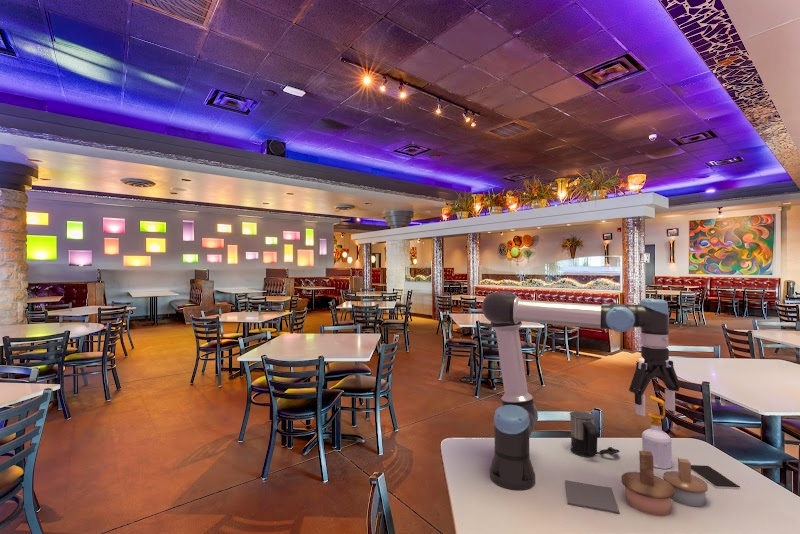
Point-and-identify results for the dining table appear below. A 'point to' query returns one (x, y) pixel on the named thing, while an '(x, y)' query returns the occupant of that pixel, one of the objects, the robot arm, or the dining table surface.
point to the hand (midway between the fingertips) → (655, 412)
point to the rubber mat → (591, 496)
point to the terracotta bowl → (648, 503)
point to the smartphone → (713, 477)
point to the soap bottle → (658, 440)
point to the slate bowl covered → (686, 485)
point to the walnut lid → (647, 480)
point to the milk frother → (585, 435)
